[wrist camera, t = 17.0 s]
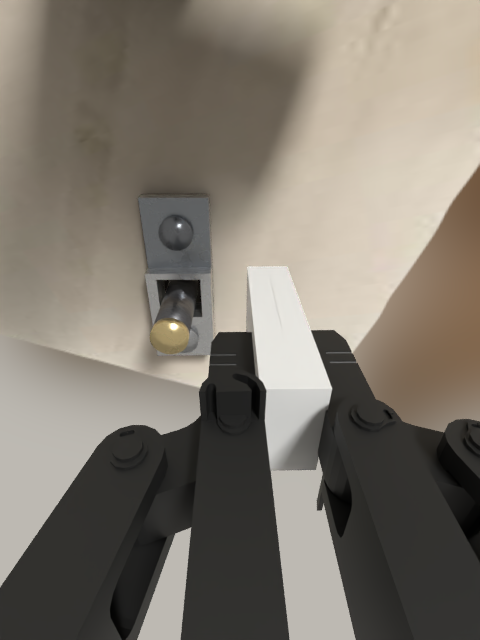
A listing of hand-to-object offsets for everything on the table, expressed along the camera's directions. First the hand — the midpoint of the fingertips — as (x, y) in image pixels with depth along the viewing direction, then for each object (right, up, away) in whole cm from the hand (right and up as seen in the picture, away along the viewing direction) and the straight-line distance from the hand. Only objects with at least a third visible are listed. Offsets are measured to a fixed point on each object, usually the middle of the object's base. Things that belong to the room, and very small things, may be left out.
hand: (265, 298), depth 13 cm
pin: (-9, +4, +33) cm, 34 cm away
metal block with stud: (-9, +6, +32) cm, 34 cm away
